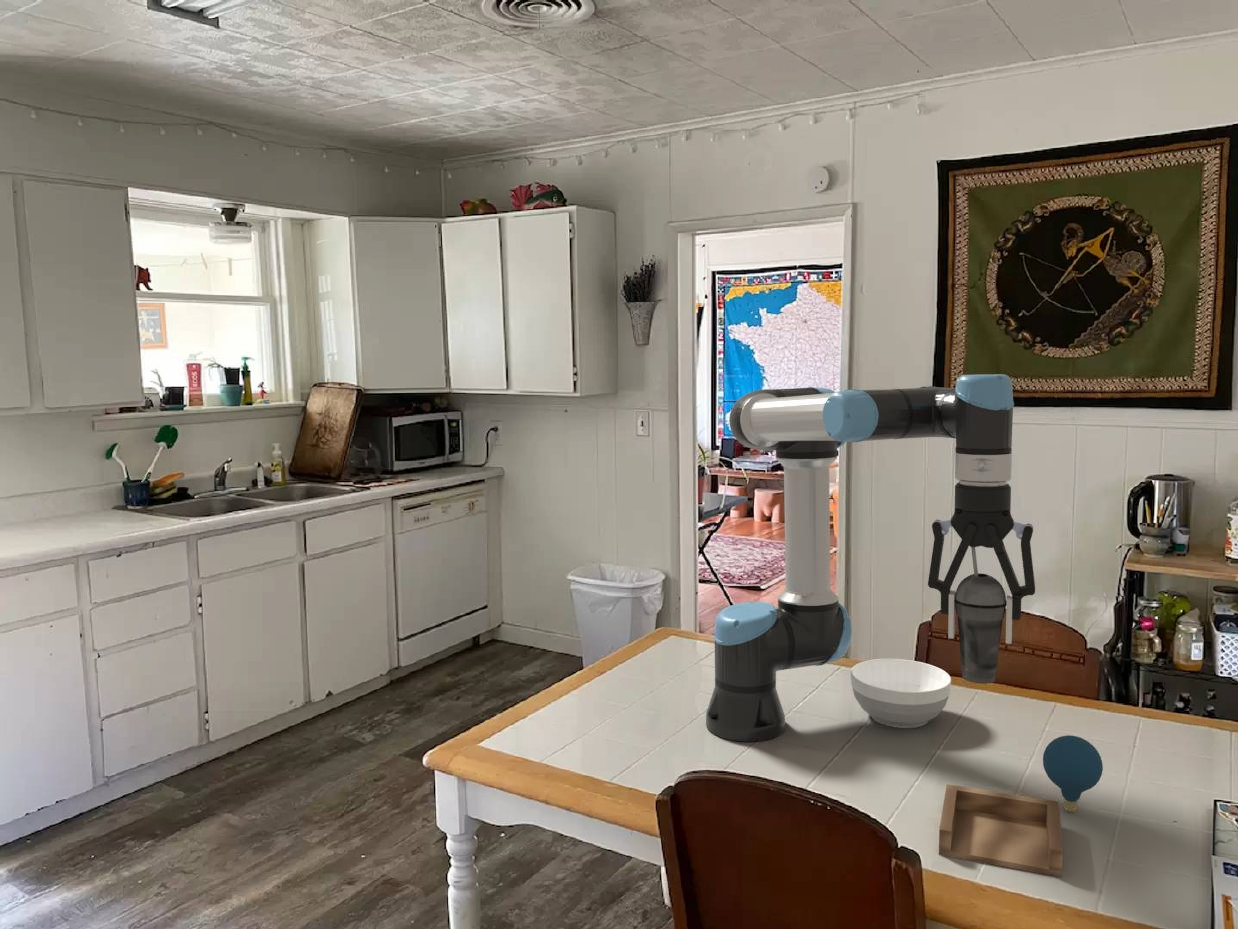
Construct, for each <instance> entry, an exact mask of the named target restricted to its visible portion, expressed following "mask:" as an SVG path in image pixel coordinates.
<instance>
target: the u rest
mask: <svg viewBox="0 0 1238 929" xmlns="http://www.w3.org/2000/svg"><path fill="white" fill-rule="evenodd" d="M945 786H946V788H945V793H944V800H943V804H942V810H941V817H940V823H939V824H940V825H939V833H938V834H939V836H938V839H939V840H938V855H941V856H945V857H950V858H951V857H952V858H958V859H962V860H966V861H967V860H968V861H973V862H979V863H984V864H988V865H994V866H1001V867H1005V868H1009V869H1010V868H1011V869H1016V870H1021V871H1025V872H1027V871H1028V872H1032V873H1037V874H1042V875H1048V876H1053V877H1059V878H1062V876H1063V860H1064V859H1063V855H1064V851H1063V850H1064V849H1063V840H1062V839H1063V838H1062V837H1063V836H1062V827H1061V826H1062V825H1061V814H1060V804H1059V803H1060V802H1059V801H1056V800H1050V799H1043V798H1038V797H1030V796H1024V795H1019V794H1013V793H1007V792H1000V791H993V790H988V789H981V788H974V787H967V786H963V785H962V786H961V785H955V784H949V783H947V784H946V785H945Z"/></svg>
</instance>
